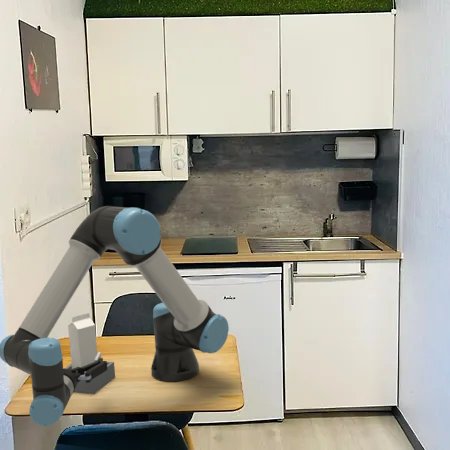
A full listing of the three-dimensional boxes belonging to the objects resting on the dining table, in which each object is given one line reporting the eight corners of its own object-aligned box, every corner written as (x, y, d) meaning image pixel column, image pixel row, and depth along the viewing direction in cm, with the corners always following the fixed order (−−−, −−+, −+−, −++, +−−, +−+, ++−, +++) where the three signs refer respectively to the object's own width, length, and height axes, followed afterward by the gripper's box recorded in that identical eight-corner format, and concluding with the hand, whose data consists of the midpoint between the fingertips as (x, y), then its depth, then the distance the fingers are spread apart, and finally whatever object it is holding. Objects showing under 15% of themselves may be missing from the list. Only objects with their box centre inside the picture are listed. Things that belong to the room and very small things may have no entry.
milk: (99, 383, 193) (94, 314, 189) (82, 389, 189) (77, 319, 185) (89, 378, 197) (84, 310, 194) (72, 383, 193) (67, 315, 190)
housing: (115, 377, 197) (114, 362, 196) (94, 394, 185) (92, 378, 184) (79, 373, 201) (78, 359, 200) (56, 390, 189) (55, 374, 188)
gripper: (12, 403, 161) (34, 372, 182) (109, 398, 161) (120, 367, 182) (9, 376, 160) (32, 347, 181) (106, 370, 160) (118, 343, 181)
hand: (76, 357), depth 182 cm, fingers open, 13 cm apart
